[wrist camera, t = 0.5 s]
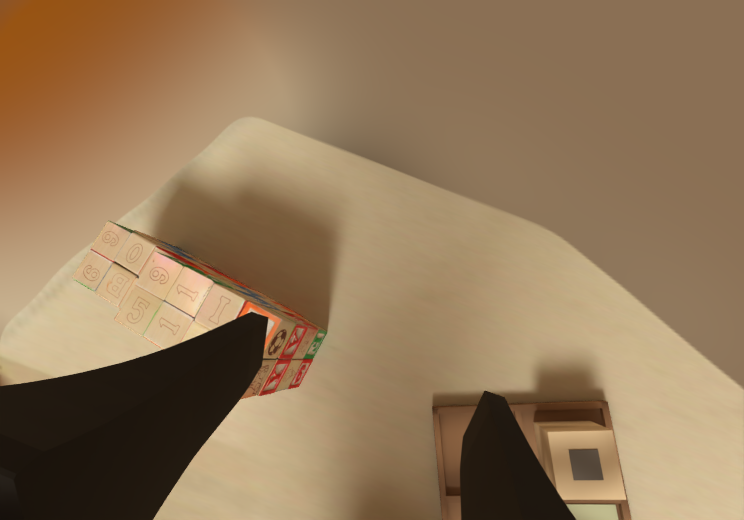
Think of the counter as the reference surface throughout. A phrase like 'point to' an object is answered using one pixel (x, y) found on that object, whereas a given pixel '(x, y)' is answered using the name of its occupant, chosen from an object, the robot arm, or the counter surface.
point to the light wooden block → (580, 460)
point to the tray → (453, 421)
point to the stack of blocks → (192, 302)
